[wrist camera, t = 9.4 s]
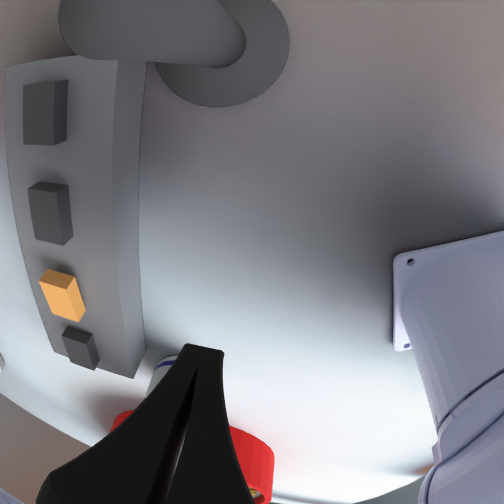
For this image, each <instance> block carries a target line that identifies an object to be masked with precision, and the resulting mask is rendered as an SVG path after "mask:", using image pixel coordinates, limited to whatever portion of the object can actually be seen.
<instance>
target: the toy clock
mask: <svg viewBox="0 0 504 504" xmlns="http://www.w3.org/2000/svg"><path fill="white" fill-rule="evenodd" d="M133 411H134V410H131V411H126V412H123V413H121V414H119V415H118V416H117V417H116V419H115V420H114V423H113V426H112V428H111V431H113V430H114V429H115V428H116V427H117V426H119V425H120V424H121V423H122V422H123V421H124V420H125V419H126V418H127V417H128V416H129V415H130V414H131V413H132V412H133ZM229 428H230V432H231V437H232V441H233V444H234V448H235V451H236V455H237V458H238V461H239V464H240V467H241V470H242V472H243V475H244V477H245V480H246V483H247V485H248V487H249V490H250V492H251V495H252V497H253V499H254V501H255V503H256V504H268V503H269V502H270V501H271V497H272V485H273V472H274V453H273V452H272V450H271V448H270V447H269V446H267V445H266V444H265V443H264V442H263V441H261V440H259V439H258V438H256V437H255V436H253V435H251V434H248V433H246V432H244V431H242V430H240V429H237V428H234V427H232V426H229ZM111 431H110V432H111Z"/></svg>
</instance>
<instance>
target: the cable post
mask: <svg viewBox="0 0 504 504" xmlns="http://www.w3.org/2000/svg"><path fill="white" fill-rule="evenodd" d="M58 17H59V27H60V32H61V35H62V37H63V39H64V41H65V43H66V44H67V45H68V47H69V48H70V49H71V50H72V51H74V52H75V53H76V54H78V55H80V56H82V57H84V58H88V59H91V60H123V61H148V62H155V64H156V67H157V70H158V72H159V74H160V76H161V78H162V79H163V81H164V82H165V83H166V85H167V86H168V87H169V88H170V89H171V90H172V91H173V92H175V93H176V94H177V95H179V96H180V97H182V98H184V99H185V100H187V101H190V102H192V103H195V104H198V105H202V106H209V107H227V106H233V105H237V104H240V103H243V102H246V101H248V100H250V99H253V98H255V97H256V96H258V95H259V94H261V93H263V92H264V91H265V90H266V89H268V88H269V87H270V86H271V85H272V84H273V83H274V82H275V81H276V79H277V78H278V76H279V75H280V74H281V72H282V70H283V68H284V66H285V63H286V60H287V57H288V52H289V32H288V28H287V24H286V22H285V20H284V17H283V16H282V14H281V12H280V10H279V9H278V8H277V7H276V6H275V4H274V3H273V2H272V1H271V0H61V2H60V7H59V16H58Z"/></svg>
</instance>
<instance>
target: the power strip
mask: <svg viewBox="0 0 504 504" xmlns="http://www.w3.org/2000/svg"><path fill="white" fill-rule="evenodd" d="M73 54H74V56H66V57H58V58H51V59H44V60H38V61H32V62H26V63H21V64H16V65H11V66H7V67H6V78H5V138H6V153H7V165H8V174H9V183H10V191H11V198H12V204H13V210H14V216H15V221H16V227H17V232H18V236H19V241H20V246H21V250H22V254H23V258H24V262H25V266H26V270H27V274H28V277H29V281H30V284H31V288H32V291H33V294H34V298H35V301H36V304H37V307H38V310H39V313H40V316H41V319H42V322H43V324H44V327H45V330H46V333H47V335H48V338H49V341H50V343H51V346H52V348H53V351H54V352H56V353H58V354H61V355H64V356H66V357H69V359H70V361H71V362H72V363H74V364H77V365H80V366H83V367H85V368H88V369H91V370H94V371H95V369H96V367H97V368H100V369H103V370H106V371H109V372H112V373H115V374H118V375H122V376H125V377H128V378H132V379H134V376H135V374H136V372H137V369H138V367H139V364H140V362H141V360H142V357H143V355H144V353H145V351H146V344H145V335H144V325H143V313H142V301H141V286H140V267H139V238H138V181H139V152H140V134H141V120H142V107H143V96H144V87H145V78H146V69H147V61H123V60H91V59H88V58H84V57H82V56H80V55H78V54H76V53H75V52H74V51H73ZM47 269H50V270H53V271H57V272H60V273H64V274H67V275H71V276H74V277H75V279H76V282H77V285H78V288H79V291H80V294H81V297H82V300H83V303H84V306H85V309H86V310H85V312H84V314H83V316H82V318H81V320H80V321H79V322H76V321H73V320H70V319H67V318H64V317H61V316H58V315H55V314H53V313H52V311H51V309H50V306H49V304H48V302H47V300H46V297H45V295H44V293H43V290H42V288H41V285H40V283H39V280H40V278H41V277H42V276H43V274H44V273H45V272H46V270H47Z"/></svg>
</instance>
